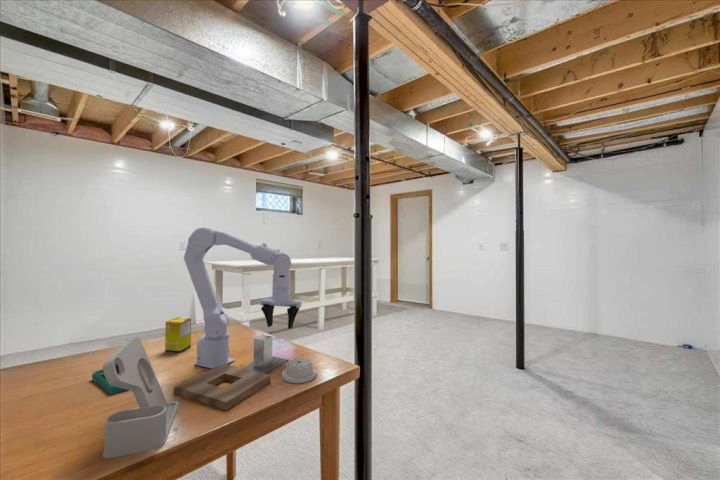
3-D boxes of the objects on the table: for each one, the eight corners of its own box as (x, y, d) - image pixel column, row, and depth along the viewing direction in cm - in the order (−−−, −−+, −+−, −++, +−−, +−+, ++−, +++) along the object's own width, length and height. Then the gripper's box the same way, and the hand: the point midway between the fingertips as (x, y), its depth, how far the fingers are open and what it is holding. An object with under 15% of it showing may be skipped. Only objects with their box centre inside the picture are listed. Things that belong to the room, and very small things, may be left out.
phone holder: (163, 448, 59) (165, 355, 59) (97, 461, 55) (100, 362, 55) (179, 403, 75) (181, 330, 75) (130, 410, 71) (132, 333, 71)
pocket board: (173, 394, 79) (173, 386, 79) (222, 370, 94) (223, 363, 94) (226, 410, 72) (226, 401, 72) (270, 381, 87) (270, 374, 87)
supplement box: (176, 346, 113) (177, 316, 113) (191, 347, 113) (192, 317, 113) (164, 352, 107) (164, 321, 107) (179, 353, 107) (180, 322, 107)
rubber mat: (236, 371, 93) (236, 370, 93) (267, 356, 106) (267, 355, 106) (260, 377, 89) (260, 376, 89) (288, 360, 102) (288, 359, 102)
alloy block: (253, 366, 96) (253, 338, 96) (261, 362, 100) (262, 334, 100) (263, 369, 95) (264, 340, 95) (271, 364, 98) (272, 336, 98)
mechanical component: (275, 382, 87) (308, 386, 85) (276, 366, 87) (309, 370, 85) (290, 368, 97) (320, 371, 95) (291, 354, 97) (320, 357, 95)
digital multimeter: (111, 397, 78) (111, 385, 78) (91, 381, 86) (91, 370, 86) (144, 386, 84) (144, 375, 84) (122, 372, 92) (122, 362, 92)
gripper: (255, 288, 103) (254, 328, 103) (296, 290, 100) (295, 332, 100) (266, 285, 110) (265, 323, 110) (304, 287, 107) (303, 326, 107)
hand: (280, 327), depth 105 cm, fingers open, 7 cm apart
